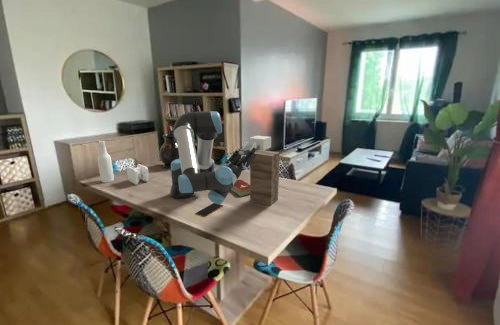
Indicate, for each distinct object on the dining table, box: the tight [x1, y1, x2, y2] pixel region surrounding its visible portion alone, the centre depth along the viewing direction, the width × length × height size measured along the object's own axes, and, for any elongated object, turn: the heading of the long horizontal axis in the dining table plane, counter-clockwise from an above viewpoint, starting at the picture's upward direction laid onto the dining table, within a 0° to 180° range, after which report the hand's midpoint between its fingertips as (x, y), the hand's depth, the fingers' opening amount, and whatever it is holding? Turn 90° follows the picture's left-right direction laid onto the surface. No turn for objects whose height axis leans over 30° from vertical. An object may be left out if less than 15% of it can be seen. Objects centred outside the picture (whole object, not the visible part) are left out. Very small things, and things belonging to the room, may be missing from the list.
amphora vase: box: [158, 133, 180, 169], centre depth 230 cm, size 22×22×28 cm
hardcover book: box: [230, 178, 250, 197], centre depth 179 cm, size 12×21×4 cm, turn 30°
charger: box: [238, 135, 272, 156], centre depth 141 cm, size 25×9×6 cm, turn 150°
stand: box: [249, 150, 280, 206], centre depth 158 cm, size 10×14×30 cm
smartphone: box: [194, 202, 224, 218], centre depth 149 cm, size 8×17×1 cm, turn 148°
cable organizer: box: [126, 163, 150, 186], centre depth 194 cm, size 15×11×12 cm
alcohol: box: [96, 140, 115, 184], centre depth 192 cm, size 9×9×30 cm
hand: (251, 143), depth 139 cm, fingers closed on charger, 4 cm apart
